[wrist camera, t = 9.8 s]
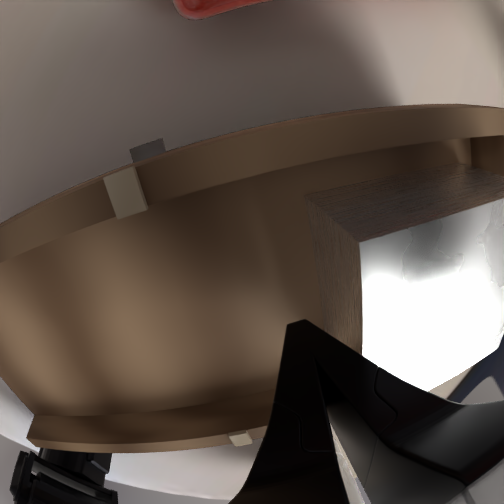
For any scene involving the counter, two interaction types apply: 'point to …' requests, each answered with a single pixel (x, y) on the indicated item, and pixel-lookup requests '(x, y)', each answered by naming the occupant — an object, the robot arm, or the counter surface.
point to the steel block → (413, 268)
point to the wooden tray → (194, 274)
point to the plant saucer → (209, 7)
